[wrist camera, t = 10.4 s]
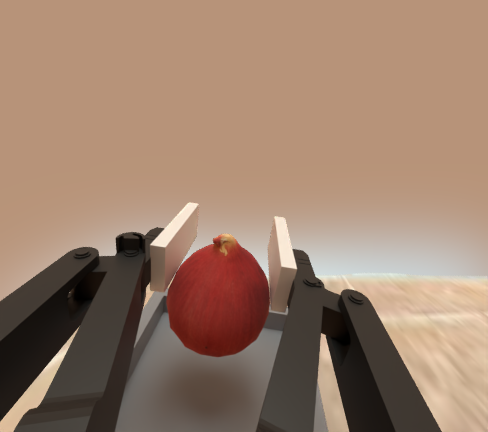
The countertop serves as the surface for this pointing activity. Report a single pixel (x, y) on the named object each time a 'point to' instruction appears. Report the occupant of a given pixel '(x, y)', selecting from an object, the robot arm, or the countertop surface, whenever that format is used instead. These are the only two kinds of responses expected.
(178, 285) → the onion
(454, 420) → the countertop surface
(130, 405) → the bin
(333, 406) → the countertop surface
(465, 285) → the countertop surface
